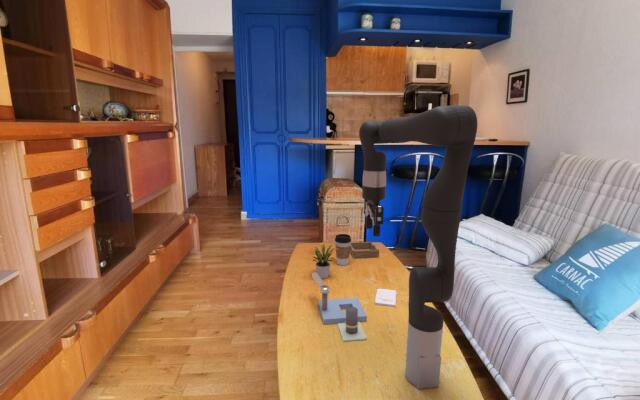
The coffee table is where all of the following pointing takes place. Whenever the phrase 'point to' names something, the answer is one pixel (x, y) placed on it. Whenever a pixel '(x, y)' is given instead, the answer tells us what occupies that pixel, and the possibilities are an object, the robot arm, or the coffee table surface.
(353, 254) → the coaster tray
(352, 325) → the plug
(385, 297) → the external hard drive
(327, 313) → the plate
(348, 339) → the pad
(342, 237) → the coffee cup
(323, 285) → the clip
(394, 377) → the coffee table surface
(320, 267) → the house plant
